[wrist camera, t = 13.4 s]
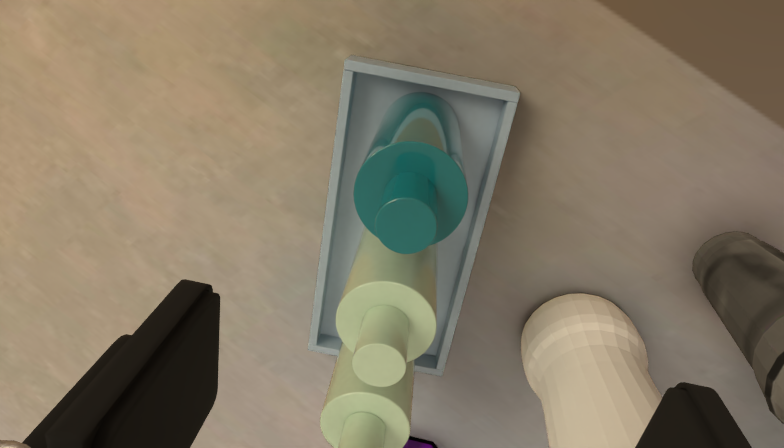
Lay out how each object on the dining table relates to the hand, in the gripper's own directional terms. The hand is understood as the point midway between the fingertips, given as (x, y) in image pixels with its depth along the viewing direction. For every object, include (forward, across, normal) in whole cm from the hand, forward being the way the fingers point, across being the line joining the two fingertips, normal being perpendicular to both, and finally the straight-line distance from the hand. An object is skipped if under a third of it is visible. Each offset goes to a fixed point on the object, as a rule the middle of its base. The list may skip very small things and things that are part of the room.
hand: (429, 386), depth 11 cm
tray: (+24, +1, +8) cm, 25 cm away
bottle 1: (+23, +1, +8) cm, 25 cm away
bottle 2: (+23, +1, +15) cm, 28 cm away
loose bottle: (+23, +1, +1) cm, 23 cm away
